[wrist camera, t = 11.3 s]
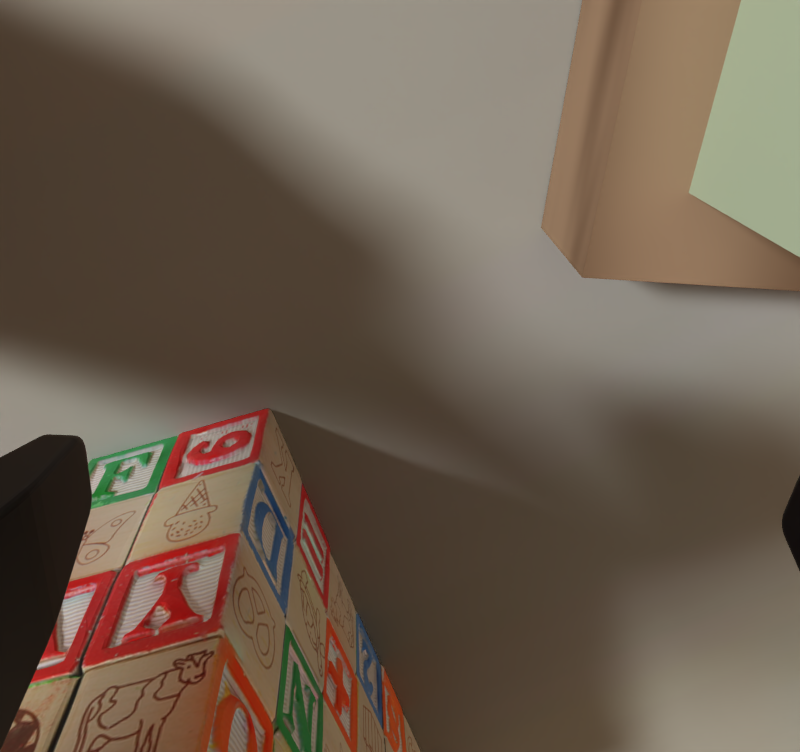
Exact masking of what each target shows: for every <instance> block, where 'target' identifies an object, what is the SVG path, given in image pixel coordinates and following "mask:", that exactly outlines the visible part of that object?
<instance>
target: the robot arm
mask: <svg viewBox="0 0 800 752" xmlns="http://www.w3.org/2000/svg"><path fill="white" fill-rule="evenodd" d="M91 505H92V490H91V483H90V476H89V469H88V462H87V454H86V448H85V445H84V442H83V440H82V439H81V438H80V437H78V436H73V435H43V436H41V437H39V438H37V439H35V440H33V441H31V442H29V443H27V444H25V445H23V446H21V447H19V448H17V449H16V450H14V451H12V452H10V453H8V454H6V455H4V456H2V457H0V751H1V748H2V746H3V744H4V742H5V739H6V737H7V735H8V733H9V730H10V728H11V726H12V724H13V721H14V719H15V717H16V715H17V712H18V710H19V708H20V705H21V703H22V701H23V699H24V696H25V694H26V692H27V690H28V687H29V685H30V683H31V681H32V678H33V676H34V674H35V672H36V669H37V667H38V665H39V662H40V660H41V658H42V656H43V653H44V651H45V649H46V647H47V644H48V642H49V639H50V637H51V635H52V632H53V630H54V627H55V624H56V621H57V619H58V616H59V613H60V610H61V606H62V603H63V600H64V597H65V593H66V590H67V587H68V584H69V580H70V577H71V574H72V570H73V567H74V564H75V561H76V557H77V554H78V551H79V548H80V544H81V541H82V538H83V534H84V531H85V528H86V525H87V521H88V518H89V515H90V511H91ZM782 528H783V533H784V536H785V538H786V541H787V543H788V545H789V548H790V550H791V552H792V554H793V557H794V559H795V561H796V564H797V566H798V568H799V571H800V476H799V478H798V480H797V483H796V485H795V487H794V490H793V492H792V494H791V497H790V499H789V502H788V504H787V506H786V509H785V511H784V514H783V518H782Z"/></svg>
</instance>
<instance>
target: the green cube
mask: <svg viewBox="0 0 800 752" xmlns="http://www.w3.org/2000/svg"><path fill="white" fill-rule="evenodd" d="M689 193H690V194H691V195H693V196H695V197H697V198H698V199H700V200H702V201H704V202H705V203H707V204H709V205H710V206H712V207H714V208H716V209H717V210H719V211H721V212H722V213H724V214H726V215H728V216H729V217H731V218H733V219H735V220H736V221H738V222H740V223H741V224H743V225H745V226H747V227H748V228H750V229H752V230H753V231H755V232H757V233H759V234H760V235H762V236H764V237H766V238H767V239H769V240H771V241H772V242H774V243H776V244H778V245H779V246H781V247H783V248H784V249H786V250H788V251H790V252H791V253H793V254H795V255H797V256H798V257H800V0H741V3H740V6H739V10H738V14H737V17H736V21H735V25H734V28H733V32H732V36H731V39H730V43H729V47H728V50H727V54H726V58H725V61H724V65H723V69H722V72H721V76H720V80H719V83H718V87H717V91H716V94H715V98H714V102H713V105H712V109H711V113H710V116H709V120H708V124H707V127H706V131H705V135H704V138H703V142H702V146H701V149H700V153H699V157H698V160H697V164H696V168H695V171H694V175H693V179H692V182H691V186H690V190H689Z"/></svg>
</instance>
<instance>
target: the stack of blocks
mask: <svg viewBox="0 0 800 752" xmlns="http://www.w3.org/2000/svg"><path fill="white" fill-rule="evenodd" d="M88 469H89V476H90V483H91V490H92V505H91V511H90V515H89V518H88V521H87V525H86V528H85V531H84V534H83V538H82V541H81V544H80V548H79V551H78V554H77V557H76V561H75V564H74V567H73V570H72V574H71V577H70V580H69V584H68V587H67V590H66V593H65V597H64V600H63V603H62V606H61V610H60V613H59V616H58V619H57V621H56V624H55V627H54V630H53V632H52V635H51V637H50V639H49V642H48V644H47V647H46V649H45V651H44V653H43V656H42V658H41V660H40V662H39V665H38V667H37V669H36V672H35V674H34V676H33V678H32V681H31V683H30V685H29V687H28V690H27V692H26V694H25V696H24V699H23V701H22V703H21V705H20V708H19V710H18V712H17V715H16V717H15V719H14V721H13V724H12V726H11V728H10V730H9V733H8V735H7V737H6V739H5V742H4V744H3V746H2V748H1V751H0V752H421V751H420V749H419V747H418V745H417V742H416V740H415V738H414V736H413V733H412V731H411V729H410V727H409V725H408V722H407V720H406V718H405V716H404V715H403V712H402V708H401V706H400V703H399V701H398V699H397V697H396V694H395V692H394V690H393V687H392V685H391V683H390V680H389V678H388V676H387V674H386V671H385V669H384V667H383V666H382V665H380V664H379V661H378V658H377V655H376V653H375V651H374V649H373V647H372V644H371V642H370V640H369V637H368V635H367V633H366V631H365V628H364V626H363V624H362V621H361V619H360V617H359V614H358V613H357V612H356V611H355V608H354V605H353V603H352V600H351V598H350V596H349V593H348V591H347V589H346V587H345V584H344V582H343V580H342V578H341V575H340V573H339V571H338V569H337V566H336V564H335V562H334V560H333V558H332V556H331V554H330V546H329V544H328V541H327V539H326V536H325V534H324V532H323V529H322V527H321V525H320V523H319V521H318V518H317V516H316V514H315V511H314V509H313V506H312V504H311V502H310V500H309V497H308V495H307V493H306V491H305V488H304V486H303V484H302V482H301V478H300V475H299V473H298V470H297V468H296V466H295V463H294V461H293V458H292V456H291V454H290V451H289V449H288V447H287V445H286V442H285V440H284V438H283V435H282V433H281V431H280V428H279V426H278V424H277V422H276V419H275V417H274V415H273V413H272V411H271V410H270V409H263V410H260V411H256V412H253V413H249V414H246V415H242V416H239V417H235V418H232V419H228V420H225V421H221V422H218V423H214V424H211V425H208V426H204V427H201V428H197V429H194V430H191V431H187V432H183V433H181V434H180V435H178V436H175V437H171V438H168V439H164V440H161V441H157V442H154V443H150V444H146V445H143V446H139V447H136V448H132V449H128V450H125V451H121V452H118V453H114V454H111V455H108V456H104V457H100V458H96V459H92V460H91V461H90V462H89V463H88Z"/></svg>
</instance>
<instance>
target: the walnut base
mask: <svg viewBox="0 0 800 752" xmlns="http://www.w3.org/2000/svg"><path fill="white" fill-rule="evenodd" d="M740 3H741V0H582V6H581V11H580V17H579V22H578V28H577V33H576V39H575V44H574V50H573V55H572V61H571V66H570V72H569V77H568V83H567V88H566V94H565V99H564V105H563V110H562V116H561V121H560V127H559V132H558V138H557V143H556V149H555V154H554V160H553V165H552V171H551V176H550V182H549V187H548V193H547V198H546V204H545V209H544V215H543V220H542V226H541V228H542V229H543V230H544V232H545V233H546V234H547V235H548V236H549V238H550V239H551V240H552V241H553V243H554V244H555V245H556V246H557V247H558V249H559V250H560V251H561V252H562V253H563V255H564V256H565V257H566V258H567V259H568V261H569V262H570V263H571V264H572V266H573V267H574V268H575V269H576V270H577V272H578V273H579V274H580V275H581V276H582V277H583V278H599V279H615V280H631V281H647V282H663V283H679V284H695V285H711V286H727V287H743V288H759V289H775V290H791V291H800V257H798V256H797V255H795V254H793V253H791V252H790V251H788V250H786V249H784V248H783V247H781V246H779V245H778V244H776V243H774V242H772V241H771V240H769V239H767V238H766V237H764V236H762V235H760V234H759V233H757V232H755V231H753V230H752V229H750V228H748V227H747V226H745V225H743V224H741V223H740V222H738V221H736V220H735V219H733V218H731V217H729V216H728V215H726V214H724V213H722V212H721V211H719V210H717V209H716V208H714V207H712V206H710V205H709V204H707V203H705V202H704V201H702V200H700V199H698V198H697V197H695V196H693V195H691V194H690V193H689V190H690V186H691V182H692V179H693V175H694V171H695V168H696V164H697V160H698V157H699V153H700V149H701V146H702V142H703V138H704V135H705V131H706V127H707V124H708V120H709V116H710V113H711V109H712V105H713V102H714V98H715V94H716V91H717V87H718V83H719V80H720V76H721V72H722V69H723V65H724V61H725V58H726V54H727V50H728V47H729V43H730V39H731V36H732V32H733V28H734V25H735V21H736V17H737V14H738V10H739V6H740Z"/></svg>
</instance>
